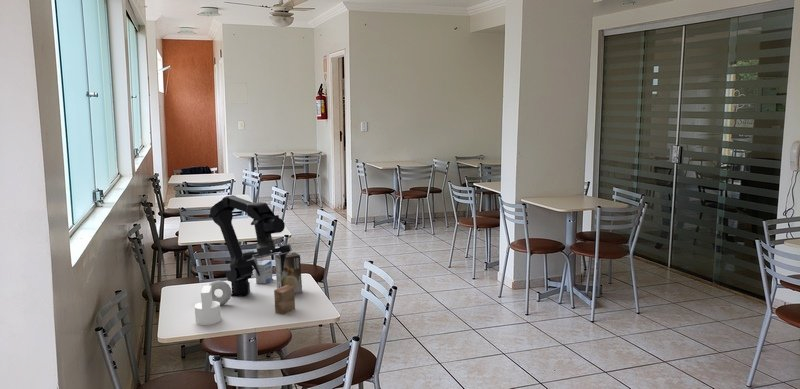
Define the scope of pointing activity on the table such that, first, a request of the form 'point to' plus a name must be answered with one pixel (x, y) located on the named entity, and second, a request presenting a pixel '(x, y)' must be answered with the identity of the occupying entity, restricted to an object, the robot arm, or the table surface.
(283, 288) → the walnut block
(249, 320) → the table surface
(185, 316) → the table surface
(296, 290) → the coffee box
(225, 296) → the donut
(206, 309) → the base with upright slab
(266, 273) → the medicine box
